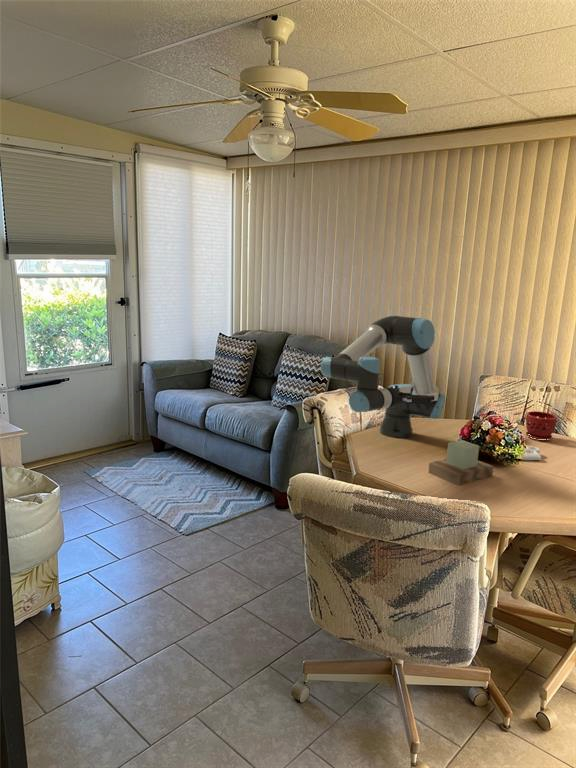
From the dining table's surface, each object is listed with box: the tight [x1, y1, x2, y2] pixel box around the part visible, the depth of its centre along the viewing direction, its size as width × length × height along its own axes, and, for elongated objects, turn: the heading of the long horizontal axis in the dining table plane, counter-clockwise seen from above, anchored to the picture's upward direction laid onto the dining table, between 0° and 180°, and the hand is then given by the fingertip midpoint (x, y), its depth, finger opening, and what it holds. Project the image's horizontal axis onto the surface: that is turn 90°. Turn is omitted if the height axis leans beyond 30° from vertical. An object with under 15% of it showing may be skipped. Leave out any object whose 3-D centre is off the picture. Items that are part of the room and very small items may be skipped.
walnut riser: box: [428, 458, 494, 486], centre depth 216 cm, size 20×14×4 cm
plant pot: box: [525, 410, 558, 440], centre depth 270 cm, size 13×13×12 cm
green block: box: [445, 439, 480, 469], centre depth 215 cm, size 8×8×8 cm
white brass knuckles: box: [521, 445, 542, 461], centre depth 243 cm, size 3×18×15 cm
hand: (423, 392), depth 222 cm, fingers open, 13 cm apart
